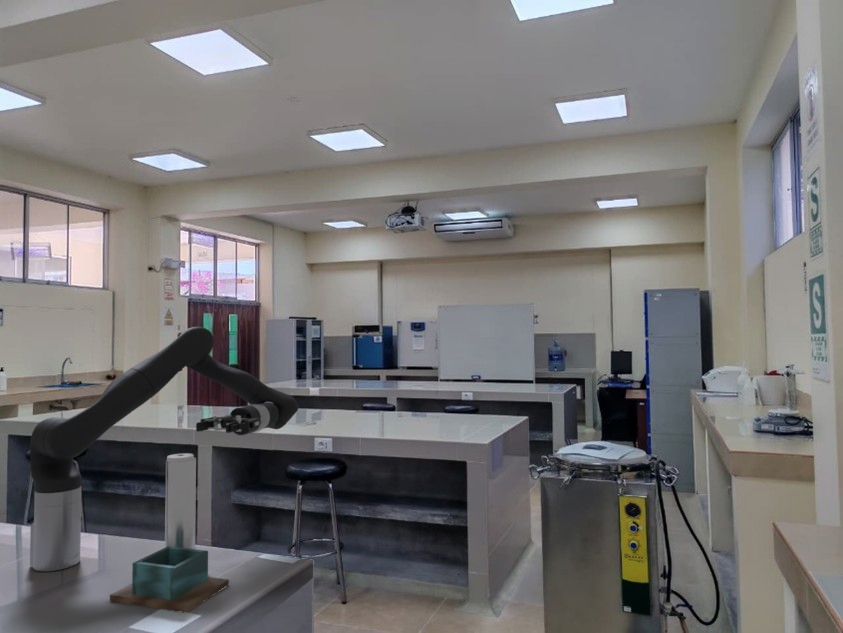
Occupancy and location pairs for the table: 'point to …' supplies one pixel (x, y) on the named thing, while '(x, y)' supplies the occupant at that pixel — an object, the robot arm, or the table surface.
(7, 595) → the table surface
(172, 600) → the cup stand
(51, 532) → the robot arm
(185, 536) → the silver metal cylinder
